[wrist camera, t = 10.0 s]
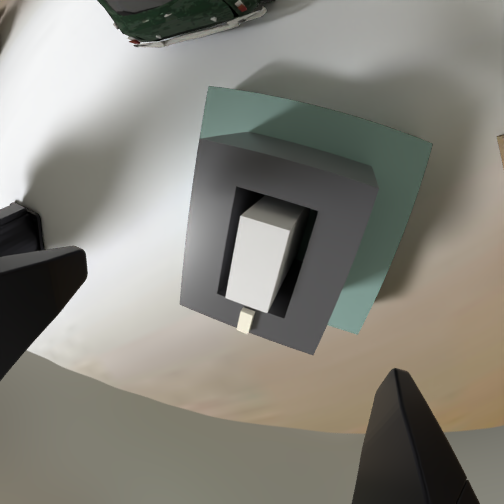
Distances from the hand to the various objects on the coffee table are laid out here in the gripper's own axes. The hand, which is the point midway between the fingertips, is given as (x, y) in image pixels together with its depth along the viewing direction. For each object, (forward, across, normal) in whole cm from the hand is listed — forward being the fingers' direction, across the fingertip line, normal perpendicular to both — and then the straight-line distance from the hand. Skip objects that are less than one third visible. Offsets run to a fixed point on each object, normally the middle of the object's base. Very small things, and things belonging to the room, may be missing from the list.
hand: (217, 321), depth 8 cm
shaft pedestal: (+12, 0, 0) cm, 12 cm away
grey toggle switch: (+9, 0, 0) cm, 9 cm away
